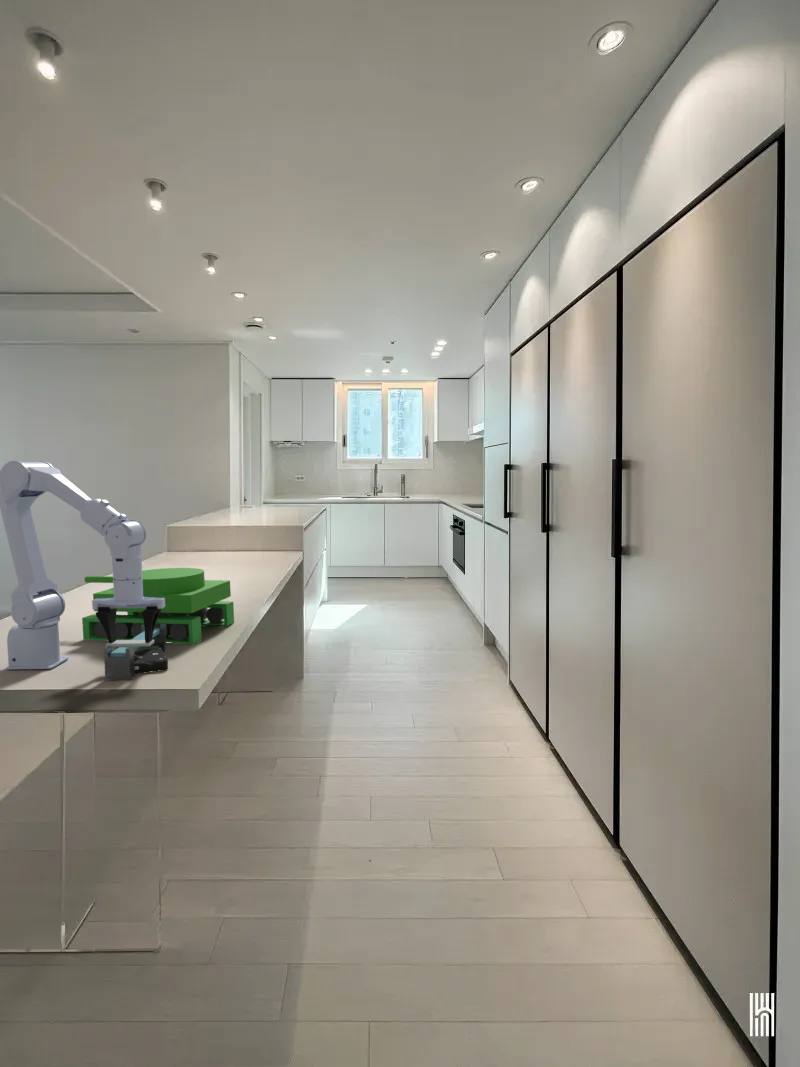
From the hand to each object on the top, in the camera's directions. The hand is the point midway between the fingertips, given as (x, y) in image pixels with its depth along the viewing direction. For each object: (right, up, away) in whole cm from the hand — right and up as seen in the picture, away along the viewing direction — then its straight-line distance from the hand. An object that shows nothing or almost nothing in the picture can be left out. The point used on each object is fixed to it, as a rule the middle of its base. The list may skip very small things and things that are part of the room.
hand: (130, 642), depth 140 cm
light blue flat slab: (0, -1, +4) cm, 4 cm away
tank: (-8, -3, +36) cm, 37 cm away
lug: (0, -6, -5) cm, 8 cm away
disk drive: (0, -6, +5) cm, 8 cm away
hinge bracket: (0, -5, +15) cm, 15 cm away
